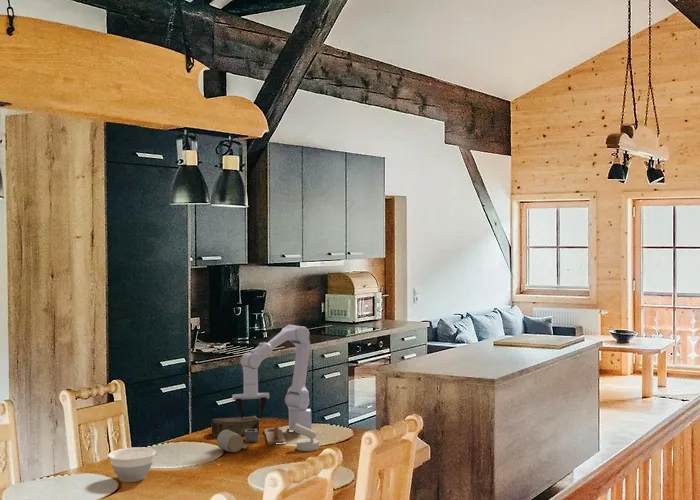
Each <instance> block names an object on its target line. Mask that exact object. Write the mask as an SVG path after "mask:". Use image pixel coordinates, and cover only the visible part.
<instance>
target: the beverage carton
mask: <svg viewBox="0 0 700 500" xmlns="http://www.w3.org/2000/svg"><path fill="white" fill-rule="evenodd" d="M245 429H257V430H258V435H259V434H260V420H259V419H258V417H257V416H256V415H252V416H243V418H241V417H240V416H238V417H237V416H235V417H224V418H223V417H220V418H219V417H218V418H211V434H212V436H213V437H214V438H217V437H218V435H219V434H220V432H221V431H223V430H230V431H232V432H234V433H237V434H239V435H240V436H245Z"/></svg>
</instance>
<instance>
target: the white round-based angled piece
mask: <svg viewBox="0 0 700 500" xmlns="http://www.w3.org/2000/svg"><path fill="white" fill-rule="evenodd" d="M293 431H295V432H294V433H298V434H300V435H302V436H304V437H306V438H301V439H300V438H299V439H298V440H296V449H297V450H299V451H304V452H305V451H306V452H310V451H316V450H318V449H320V440H318V439H316V436H317V432H316V431H315V430H313V429H311V430H310V429H308V428H306V427H304V426H301V425H299V424H297V423H296V424H295V427H294V429H293Z"/></svg>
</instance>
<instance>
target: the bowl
mask: <svg viewBox="0 0 700 500" xmlns="http://www.w3.org/2000/svg"><path fill="white" fill-rule="evenodd" d="M156 453H157V451H156V450H155V449H153V448H151V447H143V446H142V447H141V446H137V447H136V446H135V447H131V446H130V447H125V448H119V449H115V450H112V451H111V452H109V453H108V454H107V458H109V459H110V464H111V468H112V469H113V472H114V473H115V475H116V476H117V477H118V479H119V481H121V482H124V483H128V482H129V483H132V482H140V481H142V480H144V479H146V475H147V474H148V472H149V471H150V469H151V467H152V464H153V460H154V458H153V457H154V456H155V455H156Z"/></svg>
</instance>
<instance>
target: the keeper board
mask: <svg viewBox="0 0 700 500" xmlns="http://www.w3.org/2000/svg"><path fill="white" fill-rule="evenodd" d="M263 433H264V436H265V435H266V436H265V439H266V438H267V440H266V441H267V445H268V446H273V445H274V446H276V443H283V442H286V443H287V440H286V438H285V435H284V432H283V430H282V428H280V427H278V426H274V427H272V428H271V427H269V428H264V429H263Z"/></svg>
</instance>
